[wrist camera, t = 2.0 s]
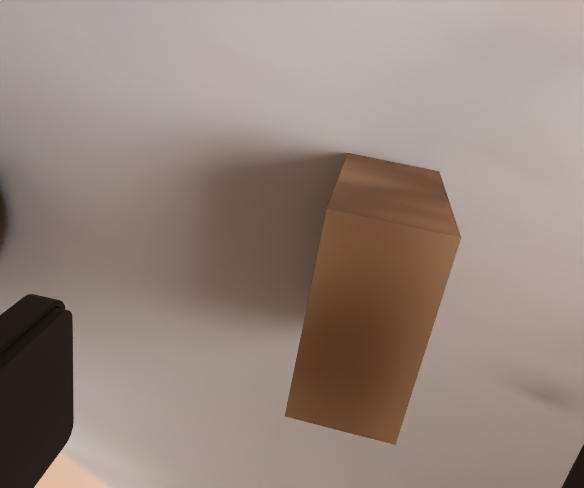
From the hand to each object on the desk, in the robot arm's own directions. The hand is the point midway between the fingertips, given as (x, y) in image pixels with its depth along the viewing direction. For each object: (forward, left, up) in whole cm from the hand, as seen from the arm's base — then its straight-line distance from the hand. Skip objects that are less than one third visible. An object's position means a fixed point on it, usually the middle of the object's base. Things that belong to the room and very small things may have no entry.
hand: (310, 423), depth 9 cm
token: (-1, 0, -10) cm, 10 cm away
